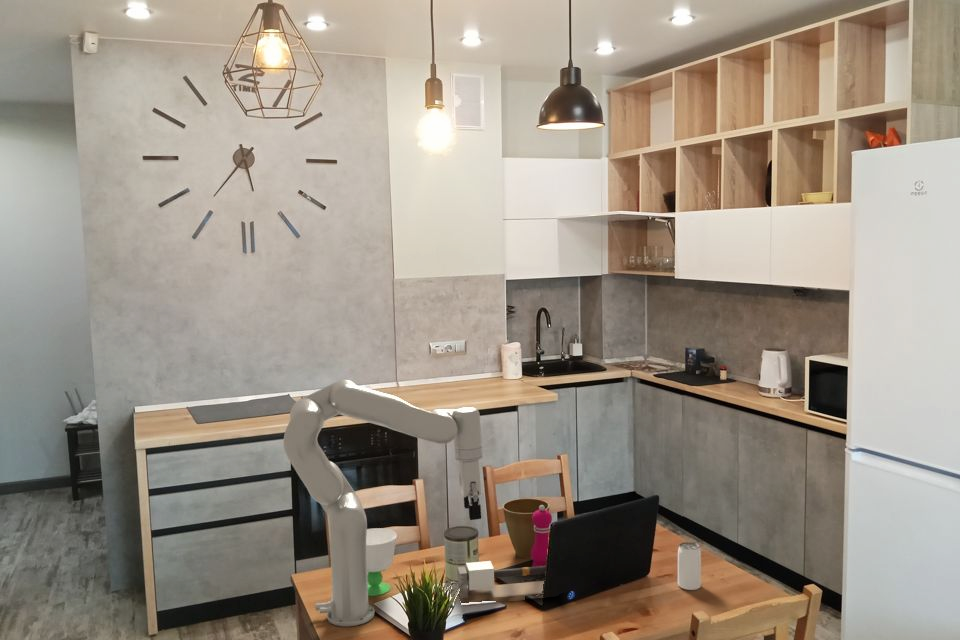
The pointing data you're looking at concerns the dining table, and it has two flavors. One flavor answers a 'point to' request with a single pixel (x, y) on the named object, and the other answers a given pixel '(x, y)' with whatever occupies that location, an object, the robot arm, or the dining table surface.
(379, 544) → the cup
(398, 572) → the dining table surface
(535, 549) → the pepper mill
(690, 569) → the can
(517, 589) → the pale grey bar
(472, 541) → the coffee can
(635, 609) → the dining table surface
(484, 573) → the white cubic block
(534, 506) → the plant pot
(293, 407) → the robot arm
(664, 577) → the dining table surface
